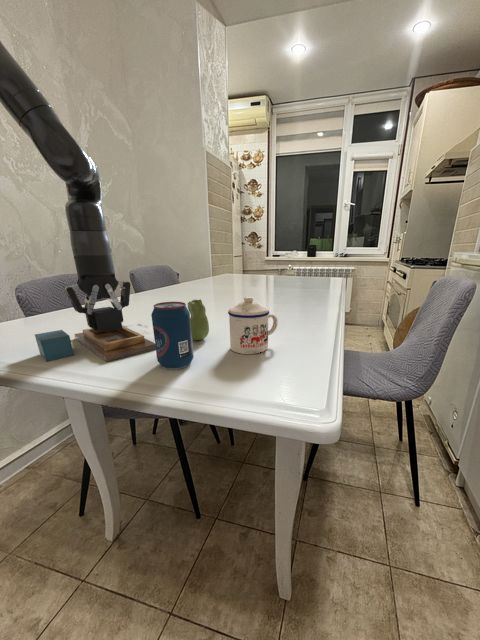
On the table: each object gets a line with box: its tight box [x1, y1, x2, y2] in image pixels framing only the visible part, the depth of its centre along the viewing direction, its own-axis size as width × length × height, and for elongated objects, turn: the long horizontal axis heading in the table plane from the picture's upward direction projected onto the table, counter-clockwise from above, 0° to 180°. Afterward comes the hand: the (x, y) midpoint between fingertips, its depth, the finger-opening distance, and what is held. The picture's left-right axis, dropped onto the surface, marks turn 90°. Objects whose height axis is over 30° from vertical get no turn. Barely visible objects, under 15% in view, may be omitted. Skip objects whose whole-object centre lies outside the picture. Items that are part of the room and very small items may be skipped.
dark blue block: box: [93, 306, 123, 333], centre depth 70 cm, size 5×6×4 cm
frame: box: [74, 325, 156, 363], centre depth 69 cm, size 11×22×3 cm, turn 46°
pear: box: [187, 299, 210, 341], centre depth 71 cm, size 6×5×10 cm
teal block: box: [34, 329, 75, 362], centre depth 62 cm, size 5×6×4 cm
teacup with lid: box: [227, 296, 279, 355], centre depth 65 cm, size 12×9×12 cm
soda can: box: [150, 301, 194, 371], centre depth 56 cm, size 7×7×12 cm
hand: (106, 326), depth 70 cm, fingers closed on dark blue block, 5 cm apart
